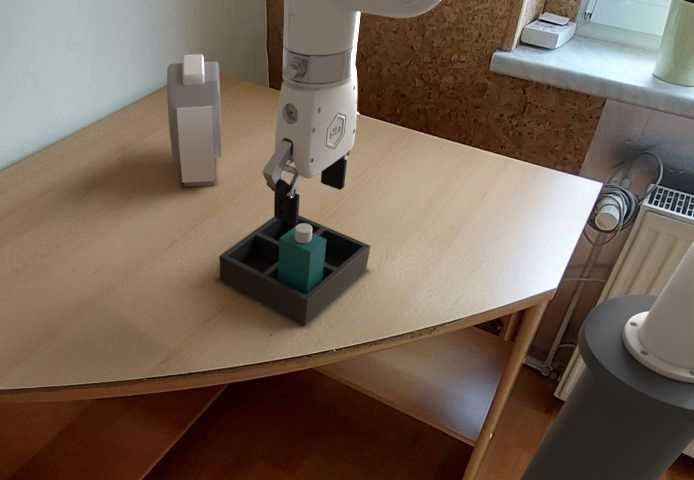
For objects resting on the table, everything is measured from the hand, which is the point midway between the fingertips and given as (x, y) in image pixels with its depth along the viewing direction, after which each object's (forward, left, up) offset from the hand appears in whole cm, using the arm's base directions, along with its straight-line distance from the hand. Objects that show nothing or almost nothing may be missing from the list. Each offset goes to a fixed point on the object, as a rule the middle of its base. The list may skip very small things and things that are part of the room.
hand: (309, 202), depth 77 cm
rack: (+4, -3, -16) cm, 17 cm away
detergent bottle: (0, 0, -15) cm, 15 cm away
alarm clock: (+36, -17, -16) cm, 43 cm away
